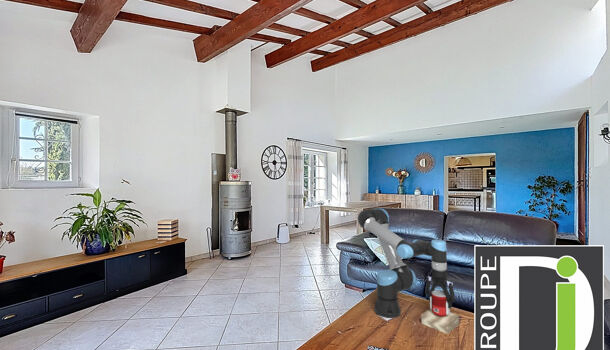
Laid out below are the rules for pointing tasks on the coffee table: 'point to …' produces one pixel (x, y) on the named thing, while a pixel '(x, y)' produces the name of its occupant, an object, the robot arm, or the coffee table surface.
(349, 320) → the coffee table surface
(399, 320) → the coffee table surface
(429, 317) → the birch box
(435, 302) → the canned food
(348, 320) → the coffee table surface
